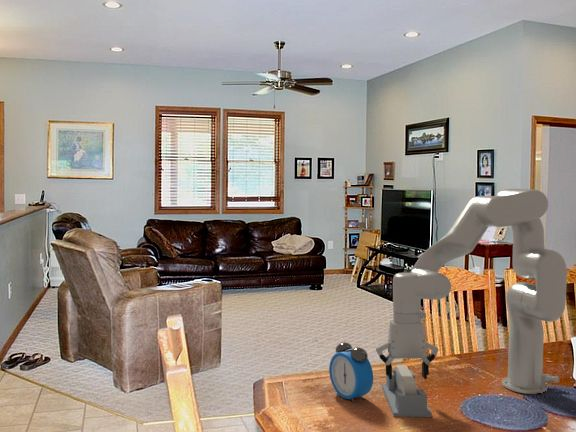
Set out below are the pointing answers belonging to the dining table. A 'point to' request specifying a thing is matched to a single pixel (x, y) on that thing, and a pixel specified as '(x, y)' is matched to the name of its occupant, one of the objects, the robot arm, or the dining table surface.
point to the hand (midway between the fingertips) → (407, 377)
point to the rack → (405, 400)
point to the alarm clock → (350, 371)
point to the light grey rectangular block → (405, 380)
